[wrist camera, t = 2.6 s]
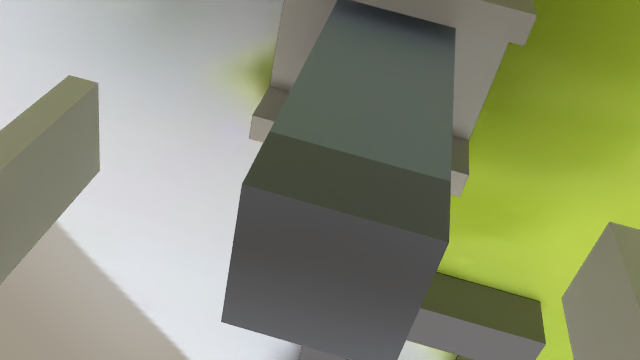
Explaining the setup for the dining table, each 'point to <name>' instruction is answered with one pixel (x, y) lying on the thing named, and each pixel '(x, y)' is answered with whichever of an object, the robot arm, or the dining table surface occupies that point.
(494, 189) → the dining table surface
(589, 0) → the dining table surface
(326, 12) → the grey u-shaped block
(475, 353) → the port
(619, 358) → the robot arm
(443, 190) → the plug
